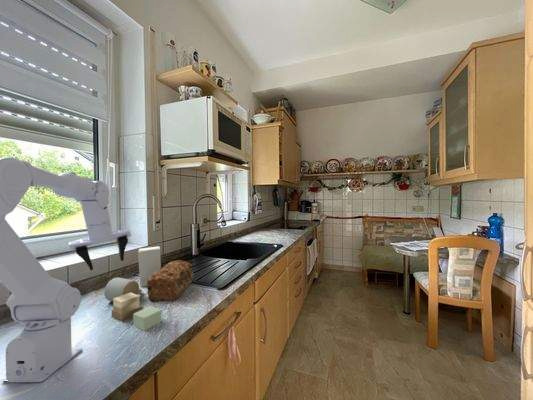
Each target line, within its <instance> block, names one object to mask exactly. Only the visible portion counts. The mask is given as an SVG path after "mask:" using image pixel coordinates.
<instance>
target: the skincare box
mask: <svg viewBox="0 0 533 400" xmlns="http://www.w3.org/2000/svg"><path fill="white" fill-rule="evenodd" d="M137 253H138V254H137V255H138V258H137V259H138V273H139V288H143V287H147V281H148V279H149V277H150V276H151V275H153V274H154V273H155V272H157V271H158V270H160V269H161V268H162V259H161V247H160V246H159V245H158V246H151V247H144V248H143V247H141V248H139V249H138V251H137Z"/></svg>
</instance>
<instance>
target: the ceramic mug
mask: <svg viewBox="0 0 533 400" xmlns="http://www.w3.org/2000/svg"><path fill="white" fill-rule="evenodd" d="M128 293H133V294H136V295H140V294H142V289H141V288H140V283H138V282H137V280H133V279H128V278H124V277H114V278H112V279H110V280H109V281H107V284H106V286H105V288H104V291H103V294H104V298H105V299H106V300H107V301H109V302H113V298H116V297H119V296H122V295H125V294H128Z"/></svg>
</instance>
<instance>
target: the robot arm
mask: <svg viewBox="0 0 533 400" xmlns="http://www.w3.org/2000/svg"><path fill="white" fill-rule="evenodd" d="M34 186H35V187H41V188H46V189H51V190H52V192H53V194H55V195H56V196H58V197H63V198H69V199H74V200H75V202H77V203H80V205H81V210H82V214H83V218H84V223H85V227H86V228H85V229H86V232H87V236H86V237H81V238H80V239H77V240H76V239H75V240H73V241H69V242H68V247H69V250H70V252H72V251H75V252H76V254H77V255H78V256H79V257H80V258H81V259H82V260H83V261H84V262H85V263H86V264H87V267H88V268H89V271H93V270H94V265H93V262H92V261H91V260H92V259H91V258H90V253H89V249H88V247H89V246H93V245H98V244H101V243H105V242H110V241H113V240H116V242H117V248H118V254H119V255H118V256H119V259H120V262H122V261H123V262H124V256H125V250H126V247H127V245H128V242H129V237H132V233H131V230H130V229H129V228H126V229H121V230H120V229H119V230H118V229H117V230H113V228H112V224H111V223H112V222H111V217H110V213H109V207H108V206H109V205H110V200H109V198H110V197H109V196H110V188H109V187H108V185H107V184H106V183H105V182H103V181H102V180H91V179H90V178H89V177H87V176H83V177H82V176H81V175H77V172H74V171H66V172H61V173H58V174H57V173H55V172H52V171H50V170H47V169H44V168H41V167H38V166H37V165H34V164H32V163H31V162H30V161H28V160H27V161H26V160H20V159H18V158H16V157H0V283H1V284H2V285H3V286H4V287H5V288H6V289H7V290H8V291H9V293H11V294H10V295H9V297H8V298H7V300H6V302H5V305H6V306H7V307H8V308H9V310H10V315H11V318H12V320H14V322H16V323H19V328H22V331H21V332H20V333H19V334H18V335H17V336H15V337H14V338H13V339H12V340H10V341H9V342H8V344H7V346H6V348H5V377H6V380H8V381H13V382H12V383H42V382H43V381H45V380H46V379H47V378H49V377H50V376H51V375H53V373H55V372H56V371H57V370H59V369H60V368H61V367H63V366H64V365H66V363H68V362H69V361H70V360H72V359H73V358H74V357H75V356H77V354H79V353H80V352H81V351H83V347H72V346H73V345H72V317H73V316H74V315H75V314H76V313H77V311H78V310H79V309H80V308H79V307H80V306H81V301H82V295H81V291H80V290H79V289H78V288H76V287H74V286H73V287H72V286H71V285H70V284H69V283H68V282H66V281H64V280H60V279H58V278H54V277H52V276H50V274H49V273H48V272H47V270H46V269H45V268H44V266H43V265H42V264H41V263H40V262H39V260H38V259H37V257H36V256H35V255H34V254H33V253H32V251H31V250H30V249H29V247H28V246H27V245H26V244H25V243H24V241H23V240H22V239H21V237H20V236H19V235H18V234H17V232H16V231H15V230H14V228H12V226H11V225H10V224H9V222H8V221H7V220H6V216H7V215H8V214H10V213H13V211H14V210H15V209H16V208H17V206H18V204H19V203H20V201H21V200H22V199H23V198H24V196H25V195H26V193H27V192H28V190H29V189H30V187H34Z"/></svg>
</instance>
